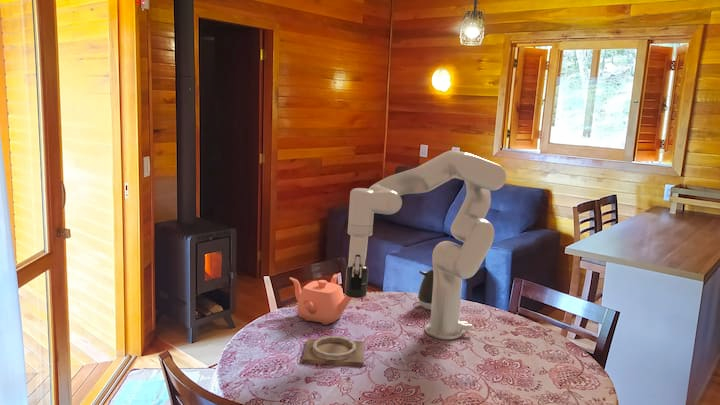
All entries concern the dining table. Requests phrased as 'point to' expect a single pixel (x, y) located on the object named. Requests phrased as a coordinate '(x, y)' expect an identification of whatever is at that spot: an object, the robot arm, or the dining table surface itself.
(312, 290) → the teapot
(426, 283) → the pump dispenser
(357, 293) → the supplement bottle
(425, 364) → the dining table surface
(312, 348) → the ring board
